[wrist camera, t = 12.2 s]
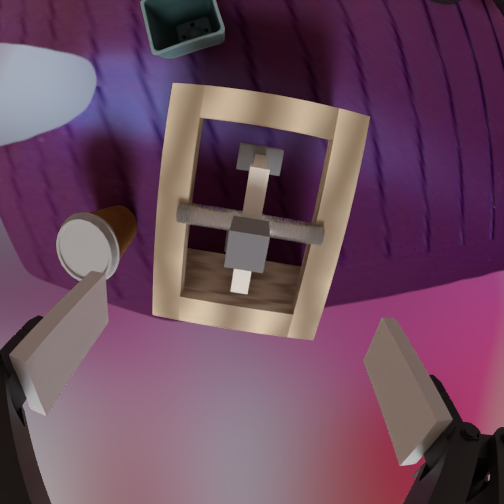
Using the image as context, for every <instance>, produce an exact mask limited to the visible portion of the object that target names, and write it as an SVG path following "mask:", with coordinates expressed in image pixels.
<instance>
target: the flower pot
mask: <svg viewBox="0 0 504 504" xmlns="http://www.w3.org/2000/svg"><path fill="white" fill-rule="evenodd" d="M140 3H141V8H142V12H143V17H144V21H145V25H146V30H147V34H148V38H149V43H150V47H151V51H152V54H153V55H157V56H160V57H163V58H167V59H173V58H177V57H180V56H183V55H186V54H189V53H192V52H195V51H198V50H202V49H205V48H208V47H212V46H215V45H219V44H221V43H223V42H224V40H225V27H224V24H223V21H222V18H221V15H220V12H219V9H218V6H217V2H216V0H141V2H140ZM192 24H195V26H194V27H192V26H191V25H192ZM206 29H207V30H208V32H205V30H206ZM184 36H186V39H183V37H184Z"/></svg>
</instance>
